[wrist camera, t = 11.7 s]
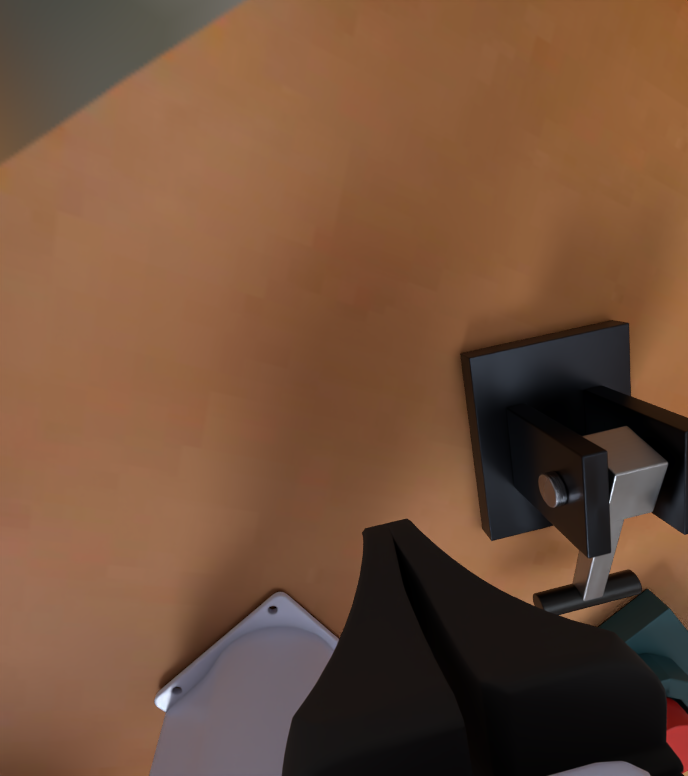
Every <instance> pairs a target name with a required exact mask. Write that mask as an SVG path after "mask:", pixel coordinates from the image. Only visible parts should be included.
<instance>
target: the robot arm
mask: <svg viewBox="0 0 688 776" xmlns="http://www.w3.org/2000/svg"><path fill="white" fill-rule="evenodd" d="M362 535H363V558H362V564H361V571H360V577H359V581H358V585H357V589H356V593H355V597H354V601H353V604H352V607H351V610H350V613H349V616H348V619H347V622H346V624H345V627H344V629H343V632H342V634H341V636H340V639H338V638H337V637H336V636H335V635H334V634H333V633H331V632H330V631H329V630H328V629H327V628H326V627H324V626H323V625H322V624H321V623H320V622H319V621H317V620H316V619H315V618H314V617H313V616H312V615H311V614H309V613H308V612H307V611H306V610H305V609H304V608H302V607H301V606H300V605H299V604H298V603H297V602H296V601H294V600H293V599H292V598H291V597H290V596H289V595H287V594H286V593H284V592H276V593H275V594H273V595H272V596H271V597H269V598H268V599H267V600H266V601H265V602H264V603H262V604H261V605H260V606H259V607H258V608H256V609H255V610H254V611H253V612H252V613H251V614H249V615H248V616H247V617H246V618H245V619H243V620H242V621H241V622H240V623H239V624H238V625H236V626H235V627H234V628H233V629H232V630H230V631H229V632H228V633H227V634H226V635H224V636H223V637H222V638H221V639H220V640H219V641H217V642H216V643H215V644H214V645H213V646H211V647H210V648H209V649H208V650H207V651H206V652H204V653H203V654H202V655H201V656H200V657H198V658H197V659H196V660H195V661H194V662H193V663H191V664H190V665H189V666H188V667H187V668H185V669H184V670H183V671H182V672H181V673H180V674H178V675H177V676H176V677H175V678H174V679H172V680H171V681H170V682H169V683H168V684H166V685H165V686H164V687H163V688H162V689H161V690H159V691H158V692H157V694H156V697H155V701H154V702H155V705H156V706H157V707H159V708H160V709H161V710H163V711H164V712H166V714H165V718H164V721H163V725H162V729H161V733H160V736H159V740H158V744H157V748H156V751H155V755H154V759H153V762H152V766H151V770H150V774H149V776H684V775H683V774H682V773H681V772H684V766H683V764H682V762H681V760H680V758H679V757H678V756H677V755H676V753H675V752H674V751H673V750H672V748H671V747H670V746H669V744H668V743H667V742H666V737H667V699H666V693H665V688H664V687H663V685H662V683H661V681H660V680H659V678H658V676H657V675H656V674H655V673H654V672H653V671H652V670H651V669H650V667H649V666H648V665H647V664H646V663H645V662H644V661H643V659H642V658H641V657H640V656H639V655H638V654H637V653H636V652H635V651H634V650H633V649H632V648H631V647H629V646H628V645H627V644H626V643H625V642H624V641H623V640H622V639H621V638H620V637H619V636H618V635H617V634H616V633H615V632H612V631H609V630H605V629H602V628H598V627H594V626H591V625H587V624H584V623H580V622H577V621H573V620H570V619H567V618H564V617H562V616H559V615H556V614H553V613H551V612H548V611H545V610H543V609H540V608H538V607H535V606H533V605H531V604H528V603H526V602H524V601H522V600H520V599H518V598H516V597H513V596H511V595H509V594H507V593H505V592H503V591H501V590H499V589H498V588H496V587H494V586H492V585H491V584H489V583H487V582H486V581H484V580H482V579H481V578H479V577H478V576H476V575H475V574H473V573H472V572H470V571H469V570H467V569H466V568H465V567H463V566H462V565H460V564H459V563H458V562H456V561H455V560H454V559H452V558H451V557H450V556H449V555H447V554H446V553H445V552H444V551H443V550H441V549H440V548H439V547H438V546H436V545H435V544H434V543H433V542H432V541H431V540H430V539H429V538H427V537H426V536H425V535H424V534H423V533H422V532H421V531H420V530H419V529H418V528H417V527H416V526H415V525H414V524H413V523H412V522H411V521H410V520H408V519H403V520H399V521H395V522H390V523H386V524H382V525H378V526H373V527H369V528H365V530H364V531H363V532H362ZM271 606H275V607H277V608H275V609H270V608H269V607H271ZM176 687H180V688H176Z"/></svg>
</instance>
